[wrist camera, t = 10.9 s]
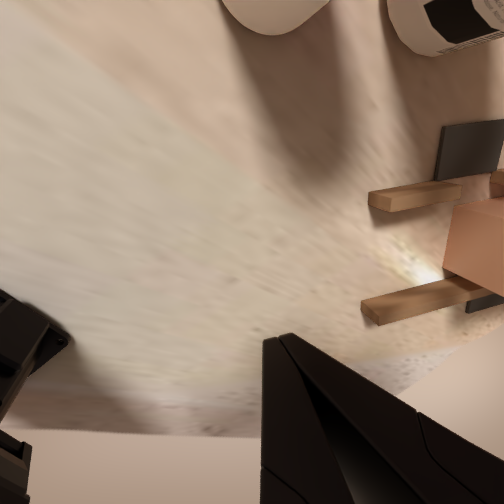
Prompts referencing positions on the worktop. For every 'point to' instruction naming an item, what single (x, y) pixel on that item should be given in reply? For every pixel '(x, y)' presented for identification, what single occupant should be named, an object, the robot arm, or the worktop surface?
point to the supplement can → (446, 23)
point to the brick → (478, 243)
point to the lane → (421, 194)
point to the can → (273, 14)
